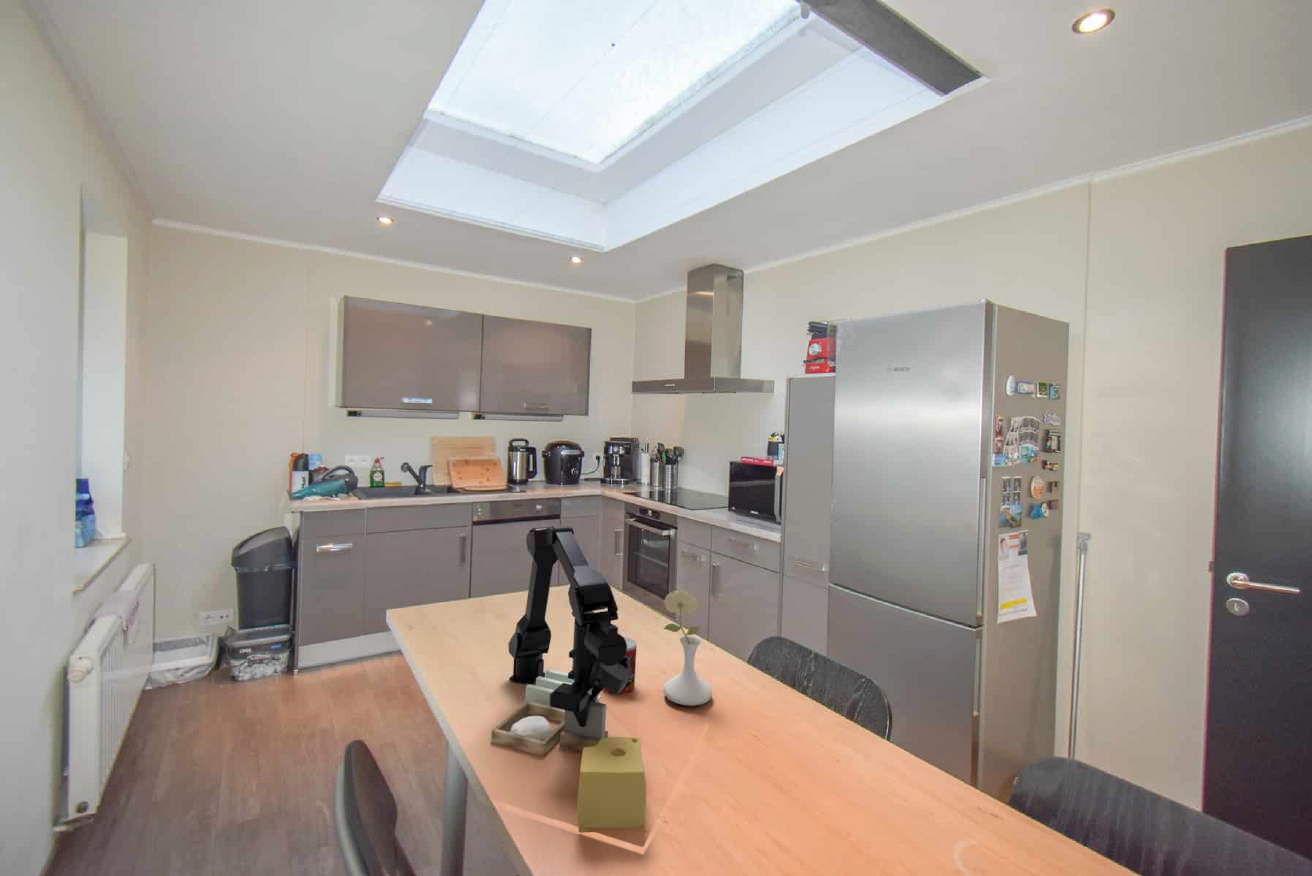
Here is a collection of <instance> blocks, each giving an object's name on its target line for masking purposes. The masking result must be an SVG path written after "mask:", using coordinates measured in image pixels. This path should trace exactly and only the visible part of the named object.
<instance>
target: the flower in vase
mask: <svg viewBox="0 0 1312 876" xmlns="http://www.w3.org/2000/svg"><path fill="white" fill-rule="evenodd" d="M696 600H697V598H696V596H695V595H694V594H689V592H688V591H682V590H679V591H678V590H674V591H673V592H669V593H668V594H666V597H665V598H664V600H663V601H662V603H663V604H664V607H665V608H666V610H667V611H668V612H669V613H671V614H674V613H675V615H676V616H677V615H678V616H679V625H677V624H675V623H668V624H667V625H665V626H664V627H663V630H667V631H670V632H673V633H677V632H678V631H680V630H681V632H682V633H683V635H684V636H682V637H680V638H679V641H680V642H679V643H680V644H681V646H682V647H683V653H684V666H683V669H682V671H681V672H680V673H678V674H677V675H675V676H673V677H672V678H671V679H669V680H668V681H667V682H666V683H665V685H664V686H663V693H664V695H665V697H666V698H667V699H668V700H670V701H671V702H672V703H676V704H678V705H681V706H682V705H683V706H687V707H689V706H690V707H693V706H699V705H705V704H706V703H707V702H709V701H710V700H711V698H712V697H713V691H712V687H711V686H710V685H709V683H707V681H706V680H705V679H703V678H702V677H701V676H700V675H698V674H697V672H696V669H695V657H696V652H697V648H698V647H699V646H700V644H701V643H702V640H701V639H700V638H699V637H697V636H694V635H696V634H698V632H700V630H702V627H703V625H698V626H693V627H691V628H690V629H689V630H688V631H687V633H686V632H685V631H684V629H683V627H682V626H683V625H682V616H684V615H690V614H693V613H695V611H696V610H697V608H698V607H699V605H698V601H696Z"/></svg>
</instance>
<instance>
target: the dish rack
mask: <svg viewBox="0 0 1312 876" xmlns="http://www.w3.org/2000/svg"><path fill="white" fill-rule="evenodd" d="M568 673H569V672H565V671H560V670H555V669H551V668H547V669H546V670H545V675H544V676H545V677H544V676H543V677H540V676H539V677H537V678H536V682H535V684H533V685H531V684H526V686H525V693H524V695H525V699H524V703H525V702H527V701H530V702H534V703H538V704H542V705H546V706H550V705H549V698H550V694H551V693H552V692H553V691H554V690H555V689H557V688H558V687H559V686H560V685H561V684H562V683H566V684H572V683H573V682H574V680H573V679H569V678H568ZM601 698H602V696H601V695H598V698H597V701H596V702H598V701H599V700H600V699H601ZM524 703H522V704H521V706H522V705H523V704H524ZM521 706H520V707H521ZM550 707H551V706H550ZM554 708H555V707H554Z"/></svg>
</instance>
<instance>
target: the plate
mask: <svg viewBox="0 0 1312 876" xmlns="http://www.w3.org/2000/svg"><path fill="white" fill-rule="evenodd" d="M606 714H607V704H606V703H602V702H598V701H597V702H594V701H592V702H591V703H590V704H589V710H588V716H587V721H586V726H585V727H580V726H579V724H578V722H577V719H576V717H575V715H574V713H573V712H571V711H567V710H565V722H564V731H565V732H569V733H573V734H577V735H581V736H584V737H588V738H592V739H596V740H600V739H603V738H605V731H606V718H607V715H606Z"/></svg>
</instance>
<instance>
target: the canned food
mask: <svg viewBox="0 0 1312 876" xmlns="http://www.w3.org/2000/svg"><path fill="white" fill-rule="evenodd" d="M623 637H624V639H625V641H626V644H627V650H626V654H625V656H627V657H628V658H630V660H631V668H632V671H631V672H632V675H631V676H630V677H629V679H628V681H627V684H626V686H625V688H623V689H622V690H621V692H620V693H619V694H617V695H626V694H629V693H631V692H632V691H633V690H634V687H635V683H636V667H637V665H636V664H637V662H636V661H637V642H636V640H634V639H632V638H631V637H626V636H623ZM603 691H605V692H606V693H609V694H611V695H614V694H613V693H612V692H611V691H610V690H609V689H607V688H605V689H604V690H603Z"/></svg>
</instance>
